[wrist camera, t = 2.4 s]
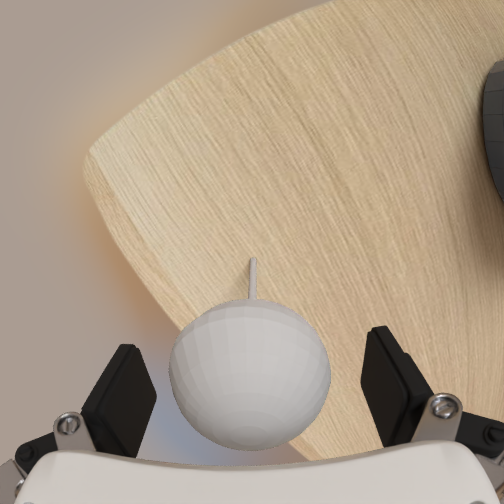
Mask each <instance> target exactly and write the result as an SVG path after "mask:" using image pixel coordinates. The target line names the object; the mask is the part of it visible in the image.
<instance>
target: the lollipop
mask: <svg viewBox="0 0 504 504" xmlns="http://www.w3.org/2000/svg"><path fill="white" fill-rule="evenodd" d="M169 376H170V381H171V386H172V390H173V394H174V397H175V399H176V402H177V404H178V406H179V408H180V410H181V413H182V414H183V415H184V417H185V418H186V419H187V421H188V422H189V423H190V424H191V425H192V426H193V428H194V429H195V430H197V431H198V432H199V433H200V434H201V435H203V436H205V437H206V438H208V439H209V440H211V441H213V442H215V443H217V444H219V445H222V446H224V447H227V448H231V449H236V450H243V451H245V450H246V451H258V450H265V449H270V448H274V447H277V446H279V445H282V444H284V443H286V442H288V441H290V440H292V439H294V438H295V437H297V436H298V435H300V434H301V433H302V432H303V431H304V430H305V429H306V428H307V427H308V426H309V425H310V424H311V423H312V422H313V421H314V420H315V419H316V417H317V416H318V414H319V412H320V411H321V409H322V407H323V405H324V403H325V400H326V397H327V394H328V390H329V387H330V383H331V370H330V363H329V358H328V355H327V351H326V349H325V347H324V345H323V343H322V341H321V339H320V337H319V336H318V334H317V332H316V330H315V329H314V328H313V327H312V326H311V325H310V324H309V323H308V322H307V321H306V320H305V319H304V318H303V317H302V316H301V315H299V314H298V313H296V312H295V311H293V310H292V309H290V308H288V307H286V306H283V305H281V304H279V303H276V302H271V301H267V300H263V299H256V258H251V259H250V272H249V292H248V299H240V300H232V301H229V302H225V303H222V304H219V305H217V306H215V307H213V308H211V309H209V310H207V311H206V312H205V313H203V314H202V315H201V316H200V317H198V318H196V319H195V320H194V321H192V322H191V323H190V324H189V325H187V326H186V327H185V328H184V329H183V330H182V332H181V333H180V334H179V336H178V337H177V338H176V341H175V343H174V346H173V348H172V352H171V356H170V362H169Z"/></svg>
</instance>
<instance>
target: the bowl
mask: <svg viewBox="0 0 504 504" xmlns="http://www.w3.org/2000/svg"><path fill="white" fill-rule="evenodd" d="M483 126H484V140H485V146H486V151H487V156H488V162H489V166H490V170H491V173H492V176H493V179H494V182H495V186H496V189H497V191H498V192H499V194H500V196H501V198H502V200H503V202H504V58H503V59H501V60H499V61H497V62H496V63H495V64H494V66H493V68H492V69H491V71H490V72H489V74H488V77H487V82H486V86H485V89H484V101H483Z"/></svg>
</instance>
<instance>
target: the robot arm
mask: <svg viewBox="0 0 504 504" xmlns="http://www.w3.org/2000/svg"><path fill="white" fill-rule="evenodd" d="M361 388H362V390H363V393H364V396H365V398H366V401H367V404H368V406H369V409H370V412H371V414H372V417H373V420H374V422H375V425H376V428H377V431H378V433H379V436H380V439H381V442H382V445H383V447H384V448H382V449H377V450H373V451H368V452H364V453H358V454H353V455H348V456H342V457H336V458H330V459H323V460H316V461H308V462H300V463H289V464H278V465H259V466H208V465H189V464H177V463H167V462H159V461H151V460H144V459H136V456H137V454H138V451H139V448H140V445H141V442H142V439H143V436H144V433H145V430H146V428H147V425H148V422H149V419H150V416H151V413H152V411H153V408H154V405H155V402H156V398H157V395H156V391H155V389H154V386H153V384H152V382H151V379H150V376H149V374H148V371H147V368H146V366H145V363H144V360H143V358H142V355H141V352H140V350H139V348H136V346H135V345H133V344H121V345H120V346H119V347H118V349H117V350H116V352H115V354H114V355H113V357H112V359H111V360H110V362H109V364H108V365H107V367H106V368H105V370H104V371H103V373H102V375H101V376H100V378H99V380H98V381H97V383H96V385H95V386H94V388H93V390H92V391H91V393H90V395H89V396H88V398H87V400H86V402H85V403H84V405H83V407H82V411H81V413H80V414H79V413H77V412H67V413H64V414H62V415H60V416H59V417H58V418H57V419H56V420H55V422H54V425H53V431H54V432H52V433H49V434H47V435H44V436H42V437H39V438H37V439H35V440H32V441H29V442H27V443H25V444H22V445H21V446H20V447H19V448H18V449H17V451H16V454H15V460H14V461H13V460H12V459H10V460H8V461H7V462H6V463H4V464H3V465H1V466H0V504H504V423H502V422H500V421H496V420H493V419H489V418H485V417H481V416H478V415H474V414H471V413H467V412H464V411H462V410H463V406H462V403H461V401H460V400H459V399H458V398H457V397H456V396H454V395H452V394H449V393H438V394H435V395H434V393H433V391H432V390H431V388H430V386H429V385H428V383H427V382H426V380H425V378H424V377H423V375H422V374H421V372H420V370H419V369H418V367H417V366H416V364H415V363H414V361H413V359H412V358H411V356H410V355H409V354H408V353H404V352H403V350H402V348H401V347H400V345H399V344H398V342H397V341H396V339H395V338H394V336H393V335H392V333H391V332H390V330H389V329H388V327H387V326H379V327H373V328H372V330H371V331H370V332H368V333H367V340H366V348H365V355H364V362H363V368H362V374H361Z"/></svg>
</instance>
